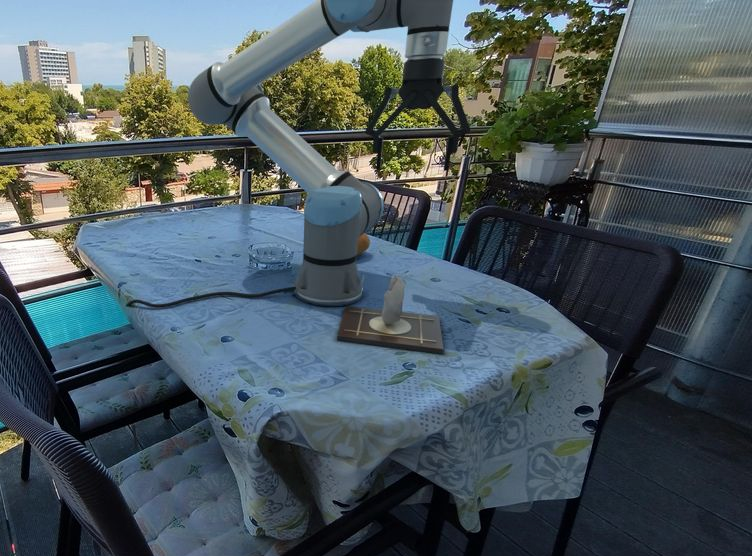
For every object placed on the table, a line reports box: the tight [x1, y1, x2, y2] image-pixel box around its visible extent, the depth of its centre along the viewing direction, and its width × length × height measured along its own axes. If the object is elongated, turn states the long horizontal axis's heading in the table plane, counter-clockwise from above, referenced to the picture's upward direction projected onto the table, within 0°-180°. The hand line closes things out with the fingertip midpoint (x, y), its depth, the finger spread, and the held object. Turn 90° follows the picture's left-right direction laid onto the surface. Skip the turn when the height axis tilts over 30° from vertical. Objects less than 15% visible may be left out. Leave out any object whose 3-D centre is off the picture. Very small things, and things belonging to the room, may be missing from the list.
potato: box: [357, 233, 371, 256], centre depth 130 cm, size 9×11×8 cm
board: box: [336, 305, 444, 355], centre depth 89 cm, size 18×14×1 cm
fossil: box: [382, 275, 406, 325], centre depth 87 cm, size 6×4×10 cm, turn 167°
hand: (411, 169), depth 100 cm, fingers open, 13 cm apart
